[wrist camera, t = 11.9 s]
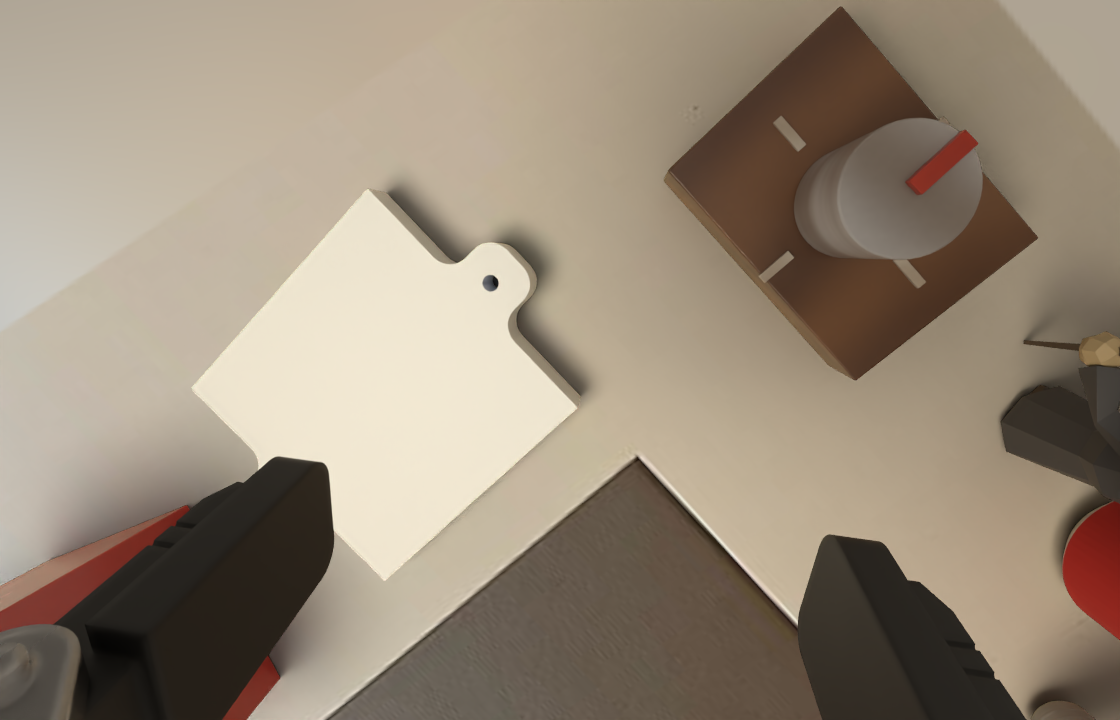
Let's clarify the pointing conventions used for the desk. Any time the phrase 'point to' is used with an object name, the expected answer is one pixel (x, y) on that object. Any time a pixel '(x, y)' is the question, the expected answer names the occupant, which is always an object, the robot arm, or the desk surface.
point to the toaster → (85, 569)
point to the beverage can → (1096, 566)
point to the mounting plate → (392, 378)
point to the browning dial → (891, 192)
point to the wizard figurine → (1074, 419)
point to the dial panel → (770, 187)
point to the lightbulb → (1061, 712)
